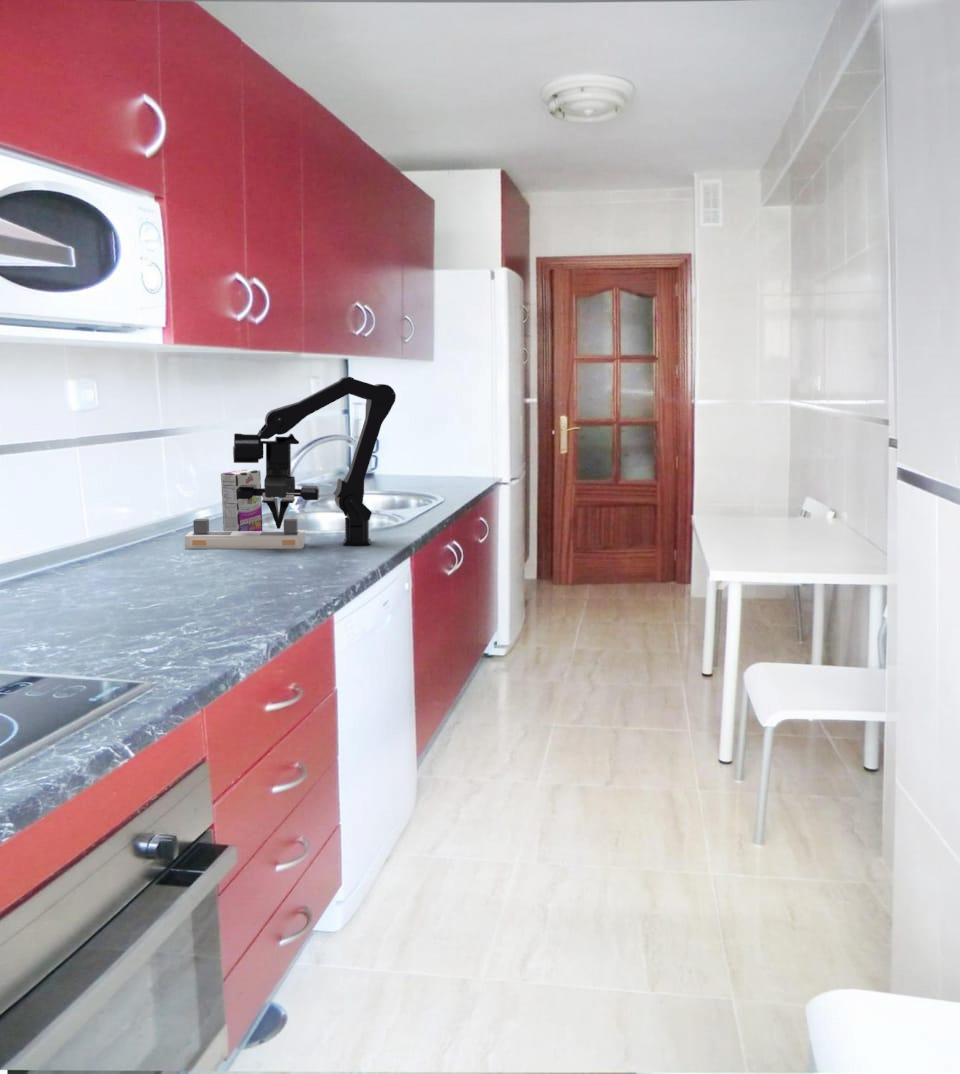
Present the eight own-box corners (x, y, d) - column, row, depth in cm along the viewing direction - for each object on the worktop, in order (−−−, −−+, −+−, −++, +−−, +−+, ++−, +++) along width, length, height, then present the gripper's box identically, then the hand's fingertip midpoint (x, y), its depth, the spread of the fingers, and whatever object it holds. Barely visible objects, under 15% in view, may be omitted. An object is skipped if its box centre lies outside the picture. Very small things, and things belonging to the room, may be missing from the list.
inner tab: (285, 531, 223) (284, 518, 222) (297, 531, 223) (297, 518, 222) (283, 533, 220) (283, 520, 219) (296, 533, 220) (296, 520, 219)
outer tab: (196, 531, 220) (195, 518, 220) (209, 531, 221) (208, 518, 220) (193, 533, 217) (193, 520, 217) (206, 533, 218) (206, 520, 217)
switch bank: (191, 543, 223) (190, 530, 222) (305, 543, 226) (305, 530, 225) (184, 549, 215) (184, 535, 215) (302, 548, 218) (302, 535, 218)
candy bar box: (246, 531, 242) (244, 468, 239) (263, 532, 240) (261, 469, 237) (221, 538, 231) (219, 472, 228) (239, 539, 230) (237, 473, 227)
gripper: (232, 465, 209) (233, 533, 212) (316, 467, 211) (316, 534, 214) (239, 461, 220) (240, 526, 223) (319, 462, 222) (319, 527, 225)
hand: (278, 528), depth 221 cm, fingers closed
